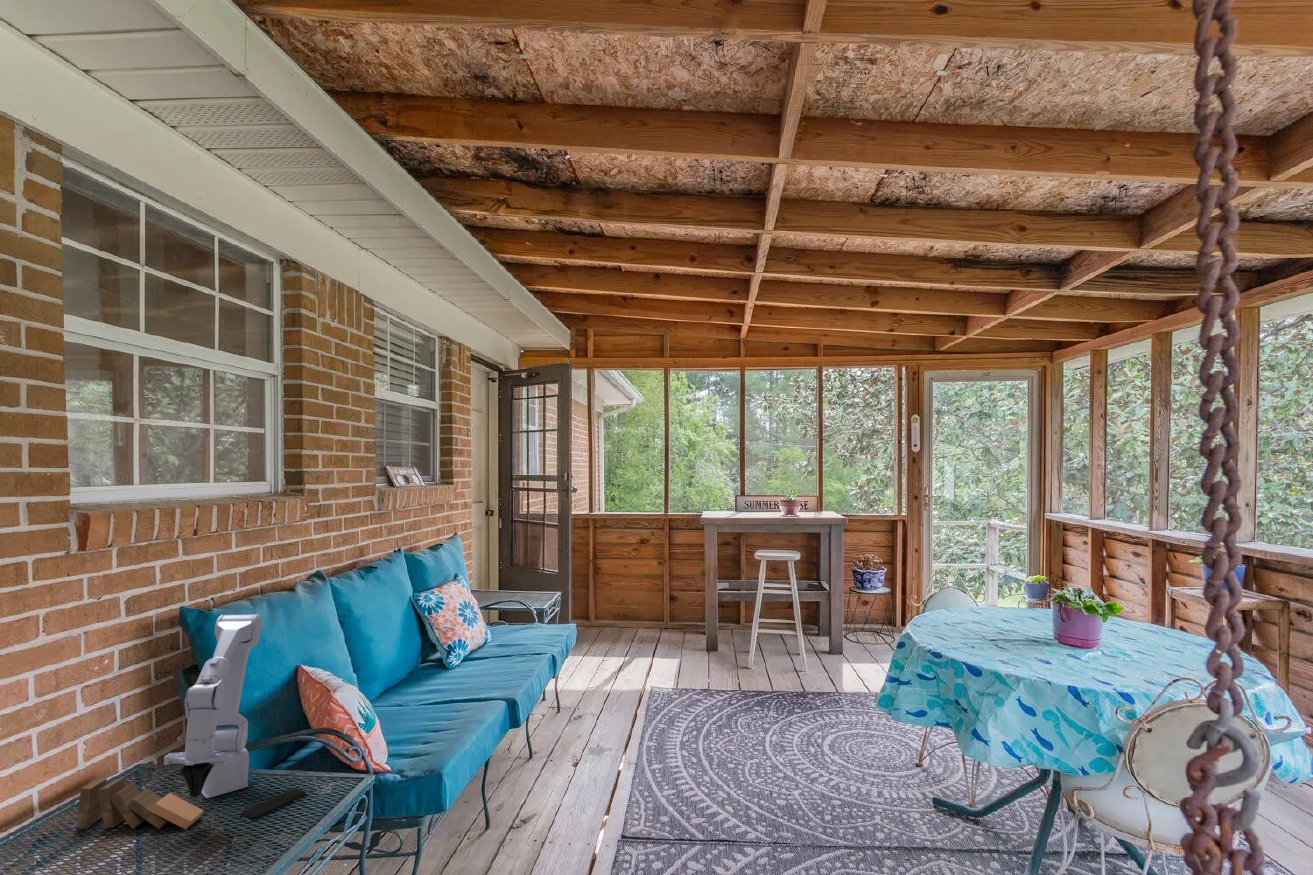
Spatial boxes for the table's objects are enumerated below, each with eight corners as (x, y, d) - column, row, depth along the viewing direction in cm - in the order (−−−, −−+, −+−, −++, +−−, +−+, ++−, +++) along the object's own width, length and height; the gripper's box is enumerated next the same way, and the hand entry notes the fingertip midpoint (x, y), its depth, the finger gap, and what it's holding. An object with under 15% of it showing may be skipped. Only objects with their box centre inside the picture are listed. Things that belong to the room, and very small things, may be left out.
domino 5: (203, 810, 155) (169, 792, 155) (190, 821, 150) (155, 803, 150) (199, 818, 155) (164, 800, 155) (185, 829, 150) (150, 811, 150)
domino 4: (179, 810, 155) (148, 788, 155) (165, 821, 150) (133, 798, 150) (173, 817, 155) (142, 795, 154) (159, 829, 150) (127, 806, 149)
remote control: (251, 826, 154) (308, 796, 168) (251, 818, 154) (308, 789, 168) (237, 820, 156) (295, 792, 170) (238, 813, 156) (295, 785, 170)
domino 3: (155, 812, 154) (132, 781, 154) (140, 823, 149) (116, 792, 149) (147, 817, 154) (125, 787, 154) (132, 829, 149) (109, 797, 149)
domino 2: (129, 815, 154) (123, 777, 154) (114, 826, 149) (107, 787, 149) (121, 817, 154) (114, 779, 154) (104, 829, 149) (98, 789, 149)
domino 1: (103, 817, 153) (106, 778, 154) (86, 829, 148) (90, 788, 149) (94, 817, 153) (97, 778, 154) (76, 829, 148) (80, 788, 149)
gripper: (157, 742, 149) (151, 803, 149) (223, 742, 151) (218, 803, 150) (177, 730, 156) (172, 788, 156) (240, 731, 158) (235, 789, 157)
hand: (195, 795), depth 153 cm, fingers closed
